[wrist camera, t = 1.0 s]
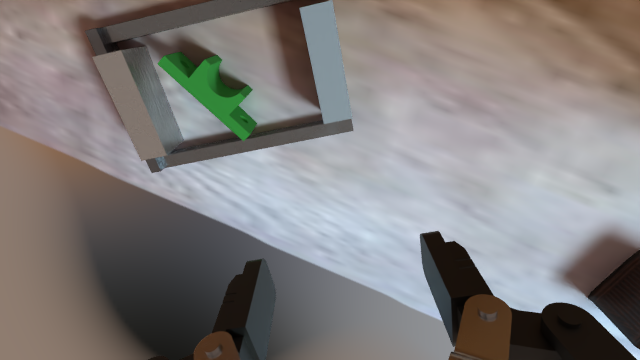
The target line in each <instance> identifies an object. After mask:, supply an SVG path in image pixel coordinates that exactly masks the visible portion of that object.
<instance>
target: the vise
mask: <svg viewBox="0 0 640 360" xmlns="http://www.w3.org/2000/svg"><path fill="white" fill-rule="evenodd" d="M287 1H291V0H213V1H209V2H205V3H201V4H197V5H193V6H189V7H185V8H181V9H176V10H172V11H168V12H164V13H160V14H156V15H152V16H148V17H144V18H140V19H136V20H132V21H127V22H123V23H119V24H115V25H111V26H107V27H103V28H95V29H91V30H86V31H85V33H86V35H87V37H88V39H89V41H90V43H91V45H92V47H93V50H94V52H95V54H96V56H94V57H92V58H93V60H94V62H95V64H96V66H97V69H98V71H99V73H100V75H101V77H102V79H103V81H104V83H105V85H106V87H107V89H108V92H109V94H110V96H111V98H112V100H113V102H114V104H115V106H116V108H117V110H118V113H119V115H120V117H121V119H122V121H123V123H124V125H125V127H126V129H127V131H128V133H129V136H130V138H131V140H132V142H133V144H134V146H135V148H136V150H137V152H138V154H139V156H140V159H141V161H142V160H146V162H147V164H148V166H149V168H150V170H151V172H152V173H154V172H159V171H162V170H163V169H164V168H167V167H172V166H177V165H182V164H187V163H192V162H197V161H203V160H208V159H213V158H218V157H223V156H228V155H233V154H238V153H243V152H248V151H253V150H258V149H263V148H268V147H273V146H279V145H284V144H289V143H294V142H299V141H304V140H309V139H314V138H319V137H324V136H329V135H334V134H339V133H344V132H349V131H353V126H352V120H351V119H347V120H342V121H337V122H332V123H327V124H324V122H323V120H322V121H317V122H312V123H308V124H303V125H298V126H293V127H288V128H283V129H278V130H273V131H268V132H263V133H258V134H253V135H249V136H248V137H247V138H246V139H245V140H244V141H243V140H242V139H240V138H239V137H238V138H233V139H228V140H223V141H219V142H214V143H209V144H204V145H199V146H194V147H189V148H184V149H179V150H174V149H175V148H176V147H177V146H178V145H179V144H180V143H182V142H183V141H184V139H183V137H182V134H181V132H180V129H179V127H178V124H177V122H176V119H175V117H174V115H173V112H172V110H171V107H170V105H169V102H168V100H167V97H166V95H165V92H164V90H163V87H162V85H161V83H160V80H159V78H158V75H157V73H156V70H155V68H154V65H153V63H152V60H151V58H150V55H149V53H148V51H147V48H146V46H143V47H137V48H131V49H125V50H119V48H118V46H117V44H116V42H120V41H124V40H128V39H133V38H137V37H141V36H145V35H149V34H153V33H158V32H162V31H166V30H170V29H174V28H179V27H183V26H187V25H191V24H195V23H199V22H204V21H208V20H212V19H216V18H220V17H224V16H229V15H233V14H237V13H241V12H245V11H250V10H254V9H258V8H262V7H266V6H270V5H275V4H279V3H283V2H287ZM173 150H174V151H173Z"/></svg>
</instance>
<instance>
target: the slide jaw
mask: <svg viewBox="0 0 640 360" xmlns="http://www.w3.org/2000/svg"><path fill="white" fill-rule="evenodd" d="M300 13H301V17H302V22H303V27H304V32H305V37H306V41H307V46H308V51H309V56H310V60H311V65H312V70H313V75H314V79H315V84H316V89H317V94H318V99H319V103H320V108H321V113H322V118H323V122H324V124H327V123H332V122H337V121H342V120H347V119H352V114H351V108H350V102H349V96H348V90H347V84H346V78H345V72H344V67H343V61H342V55H341V49H340V43H339V37H338V31H337V25H336V20H335V14H334V8H333V2H332V0H331V1H327V2H322V3H318V4H314V5H310V6H305V7H301V8H300Z"/></svg>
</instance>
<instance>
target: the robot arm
mask: <svg viewBox="0 0 640 360" xmlns="http://www.w3.org/2000/svg"><path fill="white" fill-rule="evenodd" d="M420 243H421V254H422V264H423V270H424V274H425V277H426V280H427V282H428V285H429V287H430V290H431V292H432V295H433V297H434V300H435V302H436V305H437V307H438V310H439V312H440V315H441V317H442V320H443V323H444V325H445V328H446V330H447V332H448V335H449V337H450V340H451V342H452V345H453V347H454V346H455V350H454V352H451V354H450V357H449V360H637V359H636V358H635V357H634V356H633V355H632V354H631V353H630V352H629V351H628V350H627V349H626V348H625V347H624V346H623V345H622V344H621V343H620V342H618V341H617V340H616V339H615V338H614V337H613V336H612V335H611V334H610V333H609V332H608V331H607V330H606V329H605V328H604V327H603V326H602V325H601V324H600V323H599V322H598V321H597V320H596V319H595V318H594V317H593V316H592V315H591V314H590V313H588V312H587V311H585V310H584V309H582V308H580V307H578V306H575V305H572V304H568V303H552V304H549V305H547V306H546V307H545V308H544V309H543V311H542V313H535V312H527V311H520V310H516V309H512V308H510V307H509V306H508V305H507V304H506V303H505V302H504V301H502V300H501V299H499V298H497V297H495V296H494V295H493V294H492V292H491V290H490V289H489V287H488V285H487V284H486V282H485V281H484V279H483V277H482V276H481V274H480V272H479V271H478V269H477V268H476V267H475V264H474V263H473V261H472V259H470V256H469V255H468V253H467V251H466V250H465V248H464V247H462V246H461V245H459V244H458V243H456V242H455V241H452V242H446V243H445V241H444V239H443V238H442V236H441V234H440V232H439V231H435V232H429V233H422V234H420ZM275 300H276V292H275V286H274V283H273V280H272V277H271V274H270V271H269V268H268V265H267V263H266V260H265V259H258V260H252V261H247V262H246V265H245V268H244V271H243V274H239V275H236V276H235V277H234V279H233V280H232V281H231V282H230V284H229V285H228V289H227V291H226V296H225V297H224V300H223V304H222V305H221V308H220V311H219V314H218V317H217V320H216V323H215V326H214V329H213V331H212V334H210V335H208V336H207V337H205V338H204V339H203V340H202V341H201V342H200V343H199V344H198V345H197V347H196V349H195V352H194V353H193V354H192V355H190V356H187V357H185V358H182V359H180V360H266V355H267V349H268V343H269V337H270V330H271V325H272V318H273V312H274V306H275ZM149 360H169V359H168V358H166V357H164V356H157V357H153V358H151V359H149Z"/></svg>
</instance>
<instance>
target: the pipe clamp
mask: <svg viewBox="0 0 640 360" xmlns="http://www.w3.org/2000/svg"><path fill="white" fill-rule="evenodd" d="M221 61H222V59H221V58H220V57H219V56H218V55H216V56H213V57H210V58H207V59H205V60H204V61H203V62H202V63H201V64H200V66H199V67H197V66H196V65H194V64H193V63H192V62H191V61H190V60H189V59H188V58H187V57H186V56H185V55H184V54H183V53H182V52H177V53H173V54H169V55H165V56H163V58H162V59H161V60H160V61H159V63H158V65H159V66H160V67H161V68H163V69H164V70H165V71H166V72H167V73H168V74H169V75H170V76H171V77H173V78H174V79H175V80H176V81H177V82H178V83H179V84H180V85H181V86H183V87H184V88H185V89H186V90H187V91H188V92H189V93H190V94H191V95H193V96H194V97H195V98H196V99H197V100H198V101H199V102H200V103H202V104H203V105H204V106H205V107H206V108H207V109H208V110H209V111H210V112H212V113H213V114H214V115H215V116H216V117H217V118H218V119H219V120H220V121H222V122H223V123H224V124H225V125H226V126H227V127H228V128H229V129H230V130H232V131H233V132H234V133H235V134H236V135H237V136H238V137H239V138H240V139H242V140H243V141H244V140H245V139H246V138H247V137H248V136H249V135H250V134H251V133H252V131H253V129H254V128H255V126H256V124H257V123H256V122H255V121H254V120H253V119H252V118H251V117H250V116H249V115H248V114H247V113H246V112H245V111H244V110H243V109H241V108H240V107H239V106H238V105H239V104H240V103H241V102H242V101H243V100H244V99H245V98H246V97H247V95H248V94H249V93H250V92H251V91H252V90H253V89H251V88H250V87H249V86H248V85H247V86H246V87H245V88H243V89H239V90H235V89H231V88H229V87H227V86H226V85H225V84H224V83H223V82H222V80H221V78H220V76H219V65H220V63H221Z"/></svg>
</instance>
